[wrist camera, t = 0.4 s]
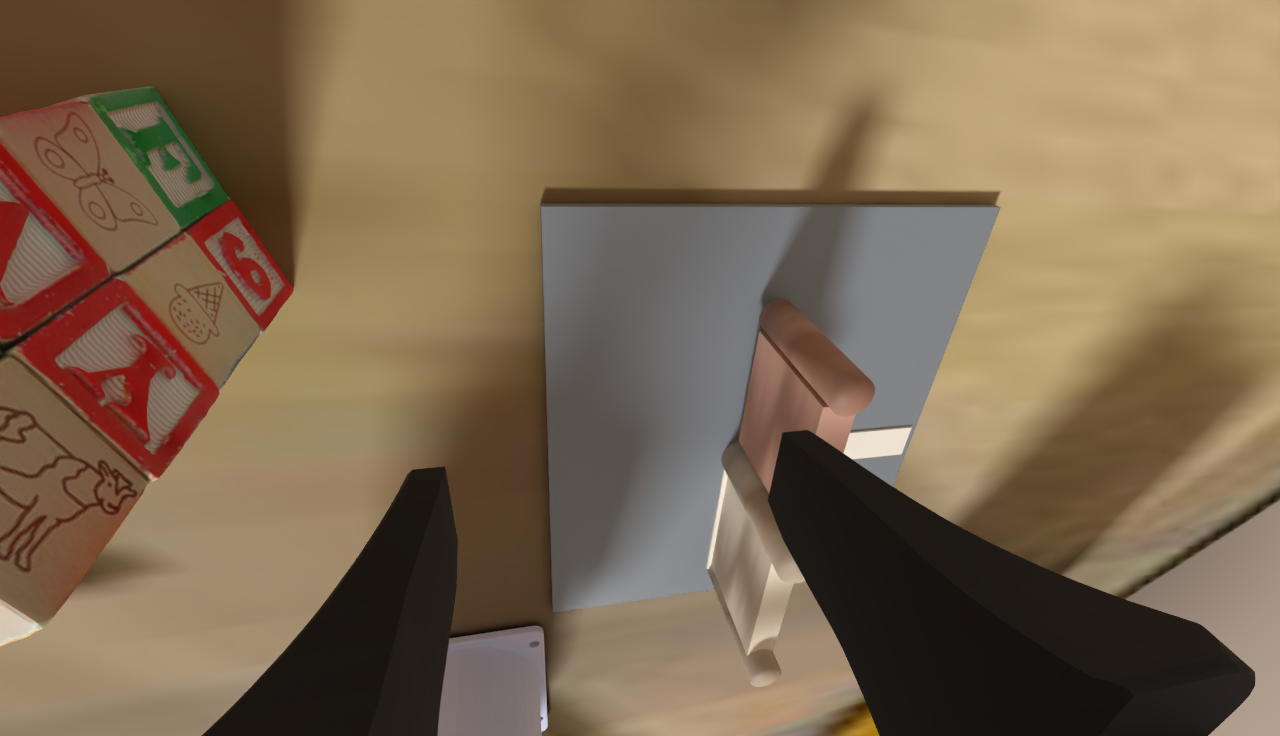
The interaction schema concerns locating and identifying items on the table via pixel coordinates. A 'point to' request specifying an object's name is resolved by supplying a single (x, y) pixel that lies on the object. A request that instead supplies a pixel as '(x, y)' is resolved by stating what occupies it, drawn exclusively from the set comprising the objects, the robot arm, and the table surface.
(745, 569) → the fence frame
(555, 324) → the card
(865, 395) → the hinged fence panel
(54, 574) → the stack of blocks
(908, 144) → the table surface
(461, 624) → the table surface
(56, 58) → the table surface
